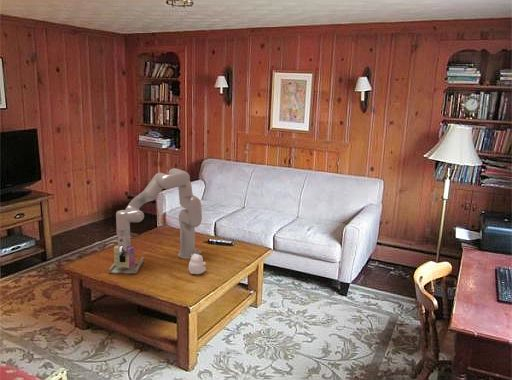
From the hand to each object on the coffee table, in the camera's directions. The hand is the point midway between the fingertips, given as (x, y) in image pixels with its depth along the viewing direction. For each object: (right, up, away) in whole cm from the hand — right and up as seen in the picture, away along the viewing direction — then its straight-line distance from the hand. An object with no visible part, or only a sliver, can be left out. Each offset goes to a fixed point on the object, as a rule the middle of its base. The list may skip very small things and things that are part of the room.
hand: (124, 259), depth 256 cm
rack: (0, -6, +7) cm, 9 cm away
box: (0, -4, +1) cm, 4 cm away
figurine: (+43, -9, +2) cm, 44 cm away
